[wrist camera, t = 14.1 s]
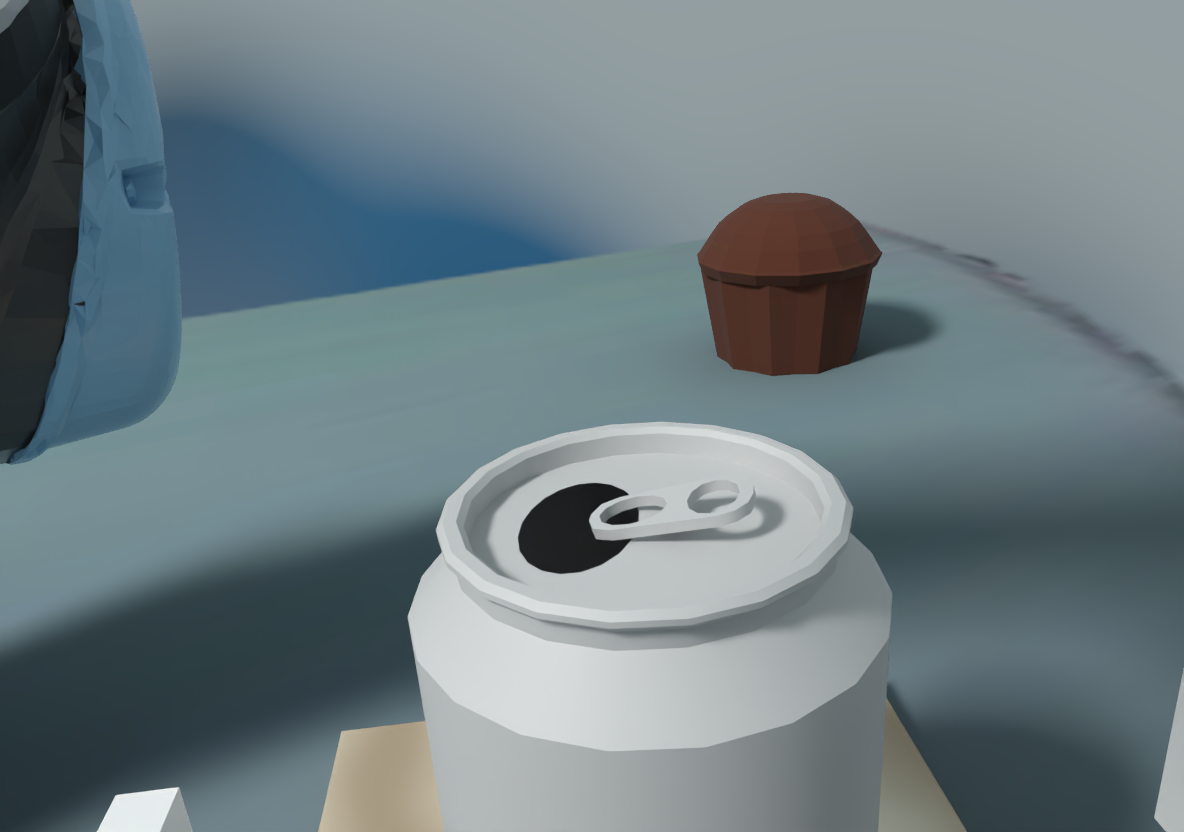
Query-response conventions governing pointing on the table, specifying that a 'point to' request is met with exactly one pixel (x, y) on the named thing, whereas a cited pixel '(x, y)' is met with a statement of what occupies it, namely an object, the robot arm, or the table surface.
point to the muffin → (787, 284)
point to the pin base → (412, 811)
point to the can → (653, 640)
